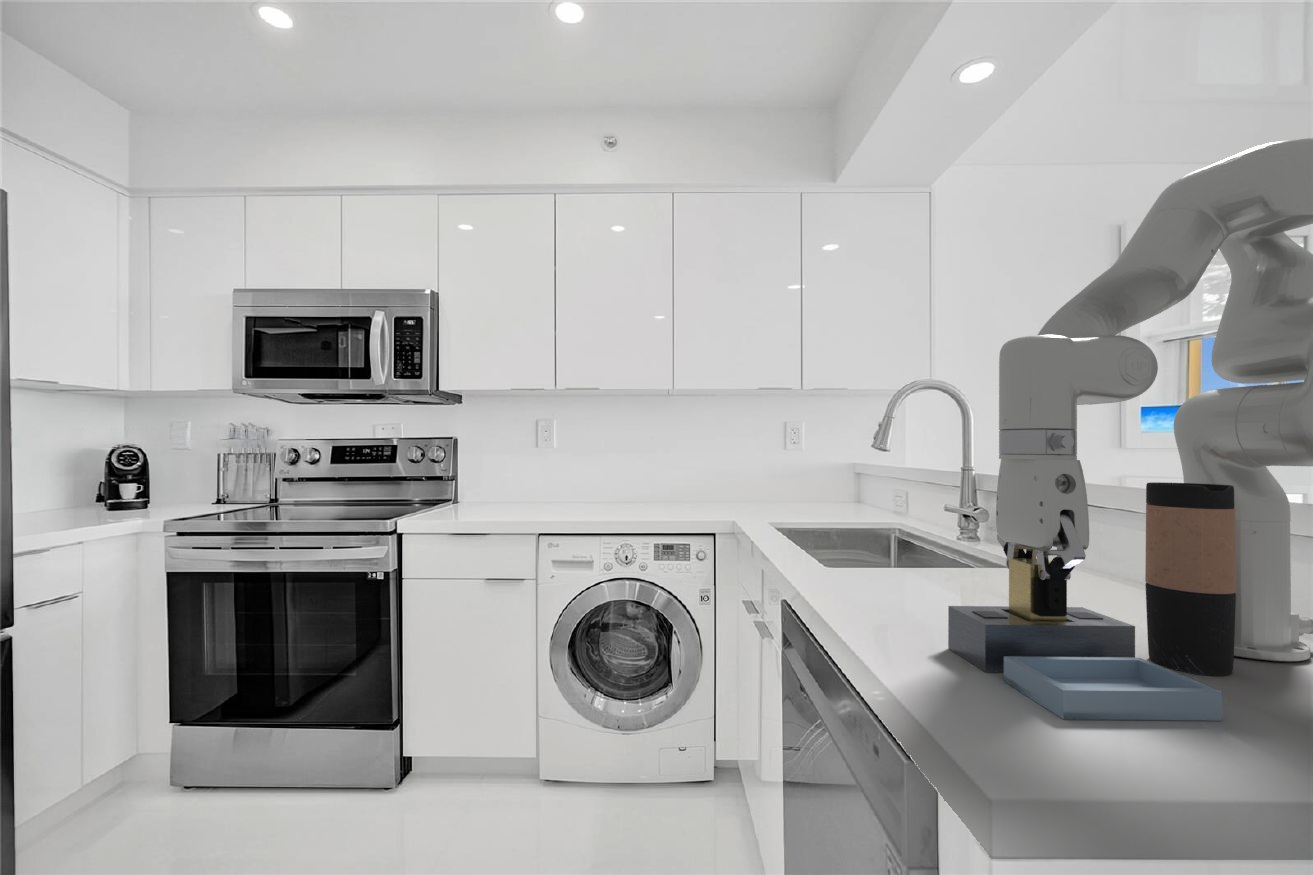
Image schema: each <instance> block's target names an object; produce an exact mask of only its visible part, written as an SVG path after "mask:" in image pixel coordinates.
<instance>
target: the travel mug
mask: <svg viewBox="0 0 1313 875" xmlns="http://www.w3.org/2000/svg"><path fill="white" fill-rule="evenodd" d="M1145 485H1146V486H1145V568H1144V569H1145V575H1144V576H1145V578H1144V579H1145V585H1144V586H1145V603H1146V605H1145V606H1146V629H1147V648H1148V652H1147V653H1148V657H1149V660H1150V662H1152V663H1154V664H1156V665H1159V666H1161V667H1164V668H1166V669H1170V670H1173V671H1174V670H1175V671H1179V672H1183V673H1187V674H1193V675H1201V676H1210V677H1211V676H1212V677H1224V676H1225V677H1226V676H1231V675H1232V674H1233V672H1234V664H1235V663H1234V661H1235V660H1234V659H1235V656H1234V639H1235V611H1236V593H1235V592H1236V560H1235V509H1234V487H1233V486H1232V485H1219V484H1197V483H1184V482H1157V481H1156V482H1147V483H1146V484H1145Z"/></svg>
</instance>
